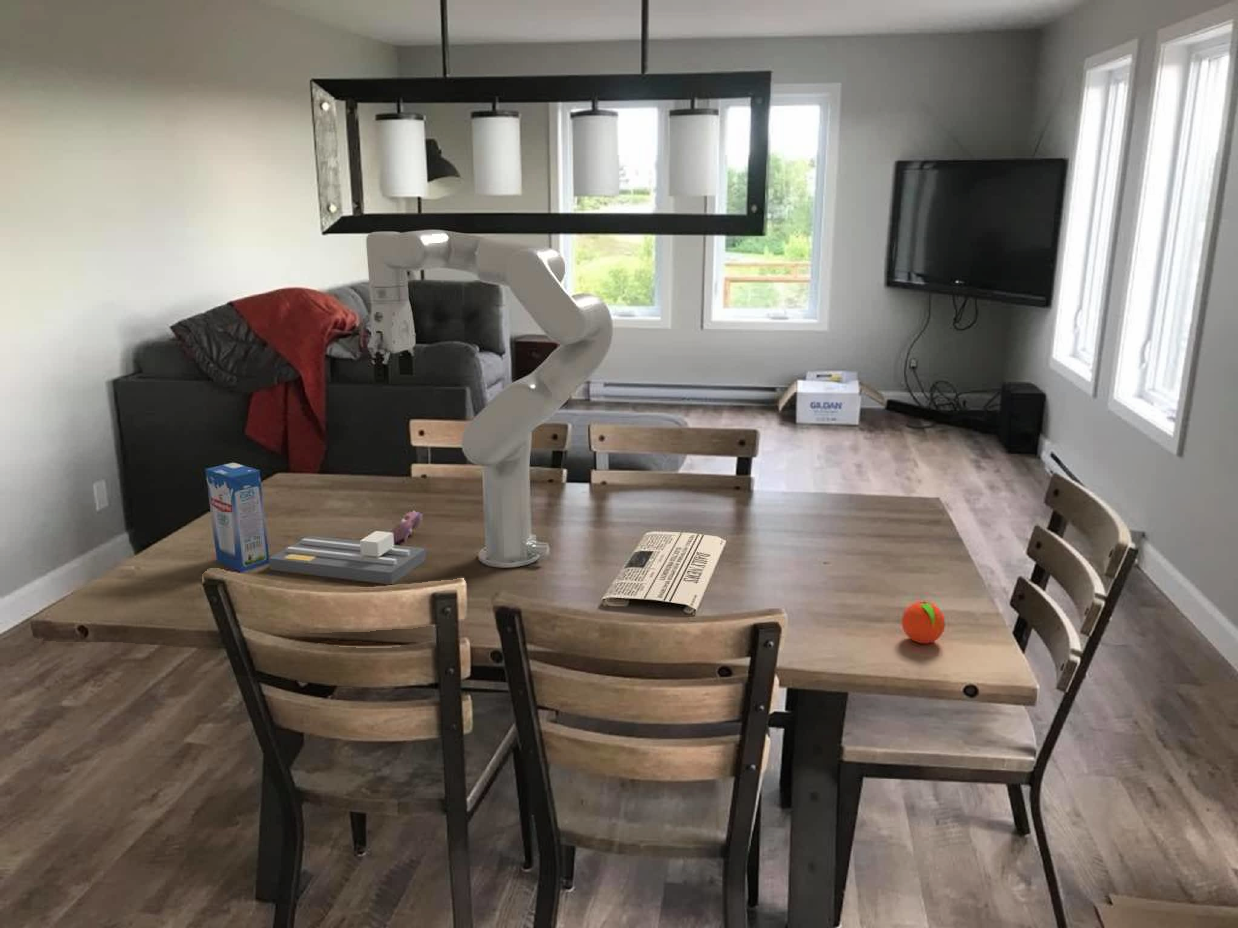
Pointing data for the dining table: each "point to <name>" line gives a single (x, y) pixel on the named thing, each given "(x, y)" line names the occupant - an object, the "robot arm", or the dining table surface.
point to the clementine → (923, 622)
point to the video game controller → (407, 526)
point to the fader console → (347, 560)
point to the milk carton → (237, 516)
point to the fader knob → (377, 543)
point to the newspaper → (667, 570)
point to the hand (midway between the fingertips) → (395, 378)
